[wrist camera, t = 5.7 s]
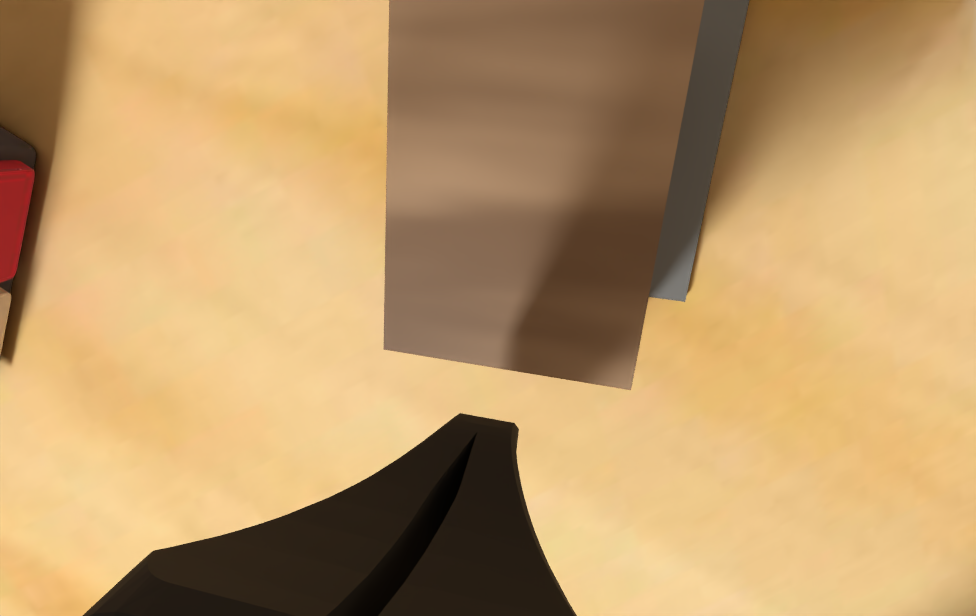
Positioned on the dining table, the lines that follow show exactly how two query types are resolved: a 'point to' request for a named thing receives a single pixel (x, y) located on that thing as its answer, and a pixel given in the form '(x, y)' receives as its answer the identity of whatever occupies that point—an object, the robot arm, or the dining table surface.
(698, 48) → the mat
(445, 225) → the walnut block
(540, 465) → the dining table surface
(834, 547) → the dining table surface
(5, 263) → the calculator
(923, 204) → the dining table surface
